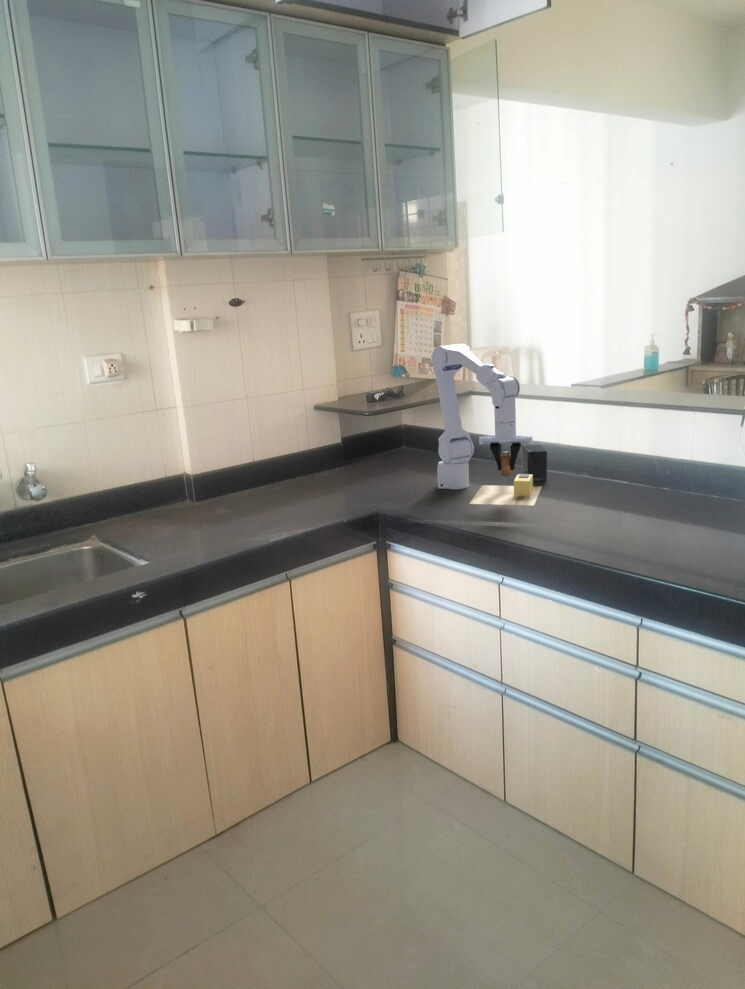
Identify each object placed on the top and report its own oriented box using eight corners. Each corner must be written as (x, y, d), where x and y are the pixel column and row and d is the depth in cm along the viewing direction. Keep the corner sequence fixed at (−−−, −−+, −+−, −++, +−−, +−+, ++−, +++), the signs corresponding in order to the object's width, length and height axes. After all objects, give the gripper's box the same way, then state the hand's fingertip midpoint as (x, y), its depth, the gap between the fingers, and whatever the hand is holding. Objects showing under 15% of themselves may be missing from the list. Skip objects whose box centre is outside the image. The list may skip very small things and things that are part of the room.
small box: (548, 483, 233) (548, 450, 231) (527, 485, 233) (526, 451, 231) (541, 475, 243) (541, 443, 241) (521, 477, 244) (520, 445, 241)
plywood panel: (469, 507, 213) (469, 503, 213) (482, 488, 232) (482, 485, 232) (534, 509, 208) (533, 505, 207) (541, 489, 227) (541, 486, 227)
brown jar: (500, 475, 211) (499, 453, 209) (501, 473, 214) (501, 451, 212) (510, 476, 210) (510, 453, 208) (512, 473, 213) (511, 451, 211)
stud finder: (513, 495, 218) (513, 479, 217) (517, 488, 225) (517, 473, 224) (529, 496, 217) (529, 480, 215) (532, 489, 224) (532, 473, 223)
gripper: (476, 424, 207) (477, 472, 210) (529, 423, 202) (530, 473, 206) (481, 420, 213) (482, 466, 217) (533, 419, 209) (533, 467, 212)
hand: (506, 469), depth 212 cm, fingers closed on brown jar, 3 cm apart
